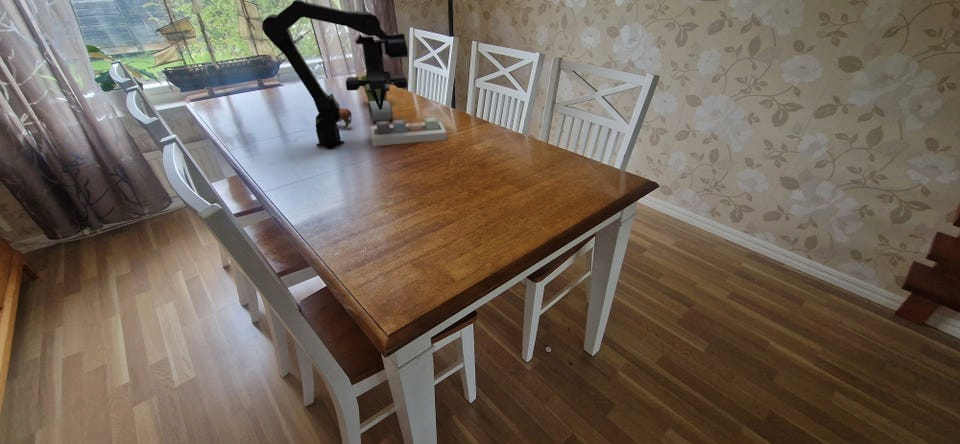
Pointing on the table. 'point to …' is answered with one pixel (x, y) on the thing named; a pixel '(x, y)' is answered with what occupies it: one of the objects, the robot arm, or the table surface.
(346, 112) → the bull figurine
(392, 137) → the keypad
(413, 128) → the key terracotta
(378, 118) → the ceramic mug
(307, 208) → the table surface
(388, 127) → the key charcoal
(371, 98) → the plant pot
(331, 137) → the robot arm
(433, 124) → the key sage
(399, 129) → the key slate
